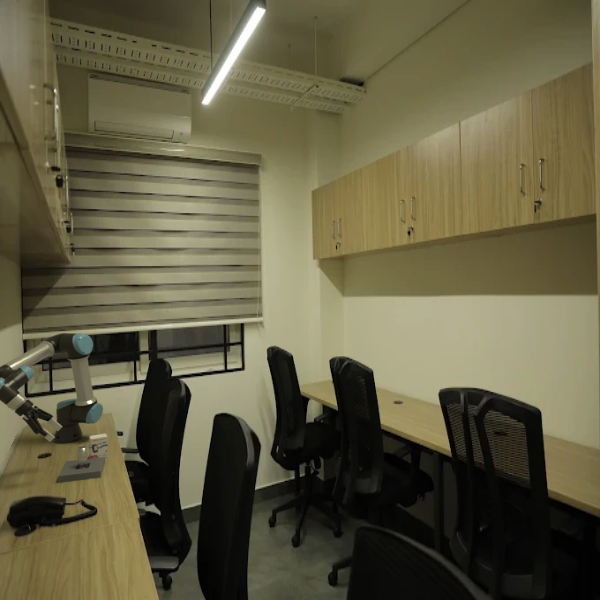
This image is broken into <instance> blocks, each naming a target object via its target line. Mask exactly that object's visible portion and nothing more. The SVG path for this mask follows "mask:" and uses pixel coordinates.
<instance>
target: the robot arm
mask: <svg viewBox="0 0 600 600" xmlns="http://www.w3.org/2000/svg"><path fill="white" fill-rule="evenodd" d="M93 348H94V342H93V339H92V338H91V336H89V335H88V334H86V333H81V332H79V333H78V332H77V333H74V332H73V333H72V332H69V333H67V332H61V333H58V334H55V335H53V336H50V337H48V338H46V339H44V340H42V341H41V342H40V343H39V344H38V345H37V346H35V347H33V348H32V349H29V350H28V351H26V352H24V353H22V354H21V355H19V356H17V357H15V358H13V359H12V360H10V361H8V362H6V363H5V364H3V365H0V402H1V403H2V404H4V405H6V406H7V409H10V410H12V411H14V414H16V415H18V416H19V417H22V416H23V417H22V418H21V419H22V420H23V421H25V423H26V424H27V425H28V427H29V428H30V429H31V430H32V432H33V433H34V434H35V435H38V434H39V435H41V436H42V437H43V438H45V439H46V440H47V441H48V442H50V443H51V442H52V441H53V442H54V443H57V444H67V443H73V441H74V442H76V441H79V440H81V439H82V438H83V437H84V436H83V434H84V433H83V431H82V429H81V426H80V424H88V425H89V424H96V423H98V422H99V421H100V419H101V417H102V416H103V412H104V407H103V405H102V403H99V402H98V398H97V397H96V396H95V395H94V390H93V385H92V379H91V373H90V367H89V360H88V359H89V357H90V355H91V352H92V351H93ZM58 354H59V355H60V354H65V355H66V359H67V361H70V365H71V369H72V377H73V382H74V383H73V384H74V389H75V393H76V398H70V399H69V398H68V399H64V400H61V401H58V402H57V404H56V409H55V413H56V420H55V419H54V415H53V414H52V413H49V412H47V411H45V410H44V409H42V408H40V407H38V406H37V405H34V402H32V401H31V400H30V399H27V397H26V396H25V395H24V393H23V394H22V392H20V391H19V390H20V389H21V388H22V387H23V386H24V385H25V384H27V383H28V382H30V380H31V379H32V378H33V377H34V375H35V372H34V370H33V369H32V368H31V367H32V366H34V365H35V364H37V363H39V362H40V361H42V360H44V359H46V358H51V357H53V356H54V355H58ZM38 419H39V420H42V421H45V422H47V424H48V425H50V427H52V428H53V429H54V430H55V433H54V435H53V434H52V433H51V432H50V431H48V430H47V429H45V428H44V427H42V425H41V423H40V422H39V420H38Z"/></svg>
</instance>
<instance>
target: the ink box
mask: <svg viewBox="0 0 600 600" xmlns="http://www.w3.org/2000/svg"><path fill="white" fill-rule="evenodd" d="M88 443H89V445H88V450H89V451H88V452H89V458H88V459H91V458H100V457H105V459H108V458H109V436H108V434H107V433H99V434H93V435H90V436H88Z"/></svg>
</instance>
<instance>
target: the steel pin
mask: <svg viewBox="0 0 600 600" xmlns="http://www.w3.org/2000/svg"><path fill="white" fill-rule="evenodd" d="M87 459H88V446H86V445H85V446H80V447H77V460H78V469H82V468H87Z"/></svg>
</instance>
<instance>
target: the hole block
mask: <svg viewBox="0 0 600 600" xmlns="http://www.w3.org/2000/svg"><path fill="white" fill-rule="evenodd" d="M105 464H106V458H105V457H100V458H91V459H90V458H87V468H82V469H78V459H74V460H65V462H64V465H63V466H62V468H61V470H60V472H59V473H58V476H57V478H58V479H57V482H59V483H66V481H67V482H74V481H75V482H76V481H82V480H89V479H90V478H91V479H98V477H99V478H102V474H103V472H104V467H105ZM91 479H90V480H91Z"/></svg>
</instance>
